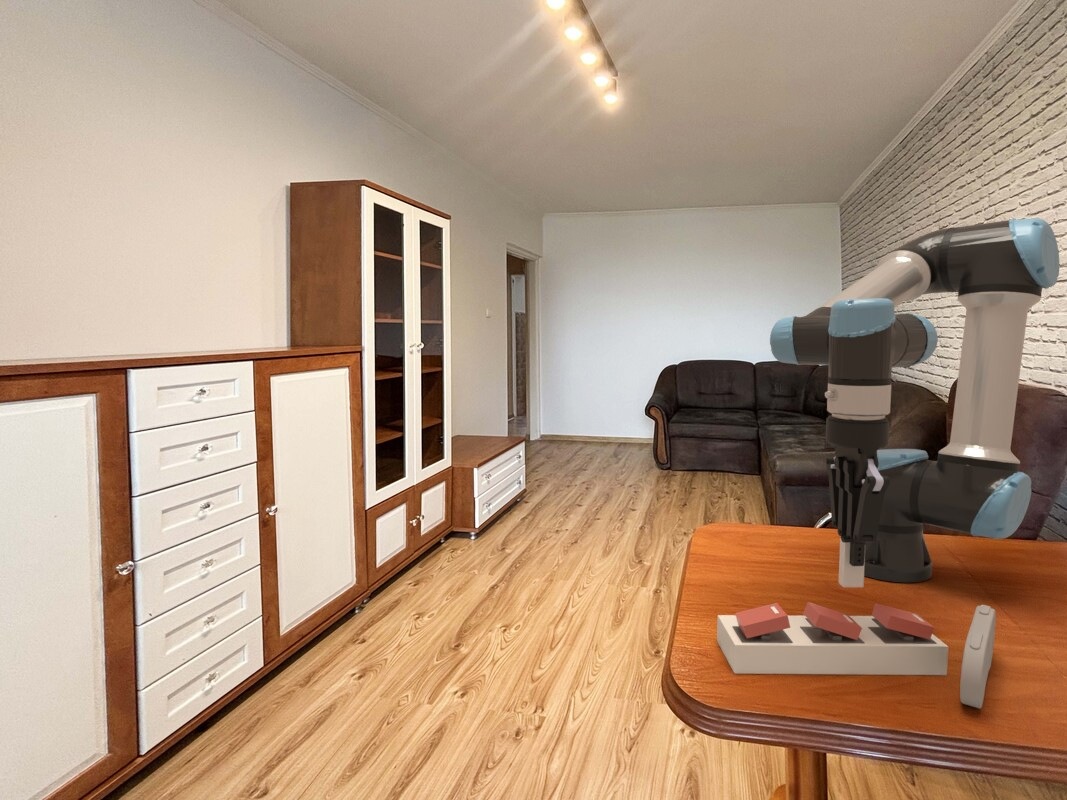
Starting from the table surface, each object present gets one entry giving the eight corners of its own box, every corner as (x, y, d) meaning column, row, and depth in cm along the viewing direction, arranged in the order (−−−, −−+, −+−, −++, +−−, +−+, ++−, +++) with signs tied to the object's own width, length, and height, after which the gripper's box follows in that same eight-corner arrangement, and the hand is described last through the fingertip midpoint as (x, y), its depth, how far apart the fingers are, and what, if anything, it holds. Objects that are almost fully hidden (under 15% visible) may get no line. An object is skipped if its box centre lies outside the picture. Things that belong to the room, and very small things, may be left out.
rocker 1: (779, 614, 88) (776, 601, 88) (790, 627, 84) (787, 614, 84) (738, 624, 89) (734, 612, 88) (746, 638, 85) (743, 625, 84)
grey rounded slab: (973, 650, 90) (977, 595, 89) (993, 655, 88) (997, 599, 88) (955, 713, 75) (960, 648, 74) (979, 721, 74) (983, 654, 73)
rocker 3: (912, 625, 88) (917, 613, 88) (929, 639, 84) (934, 626, 84) (871, 614, 88) (875, 602, 88) (886, 628, 84) (891, 615, 84)
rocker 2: (843, 626, 88) (848, 614, 88) (857, 640, 84) (862, 627, 84) (803, 613, 88) (807, 601, 88) (814, 626, 84) (819, 613, 84)
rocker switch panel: (908, 642, 92) (910, 611, 92) (946, 675, 83) (948, 641, 83) (716, 640, 93) (717, 610, 93) (734, 673, 84) (735, 640, 84)
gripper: (809, 409, 90) (804, 567, 93) (852, 423, 77) (845, 606, 80) (861, 409, 90) (855, 567, 93) (914, 422, 77) (905, 605, 80)
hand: (850, 584), depth 86 cm, fingers closed
